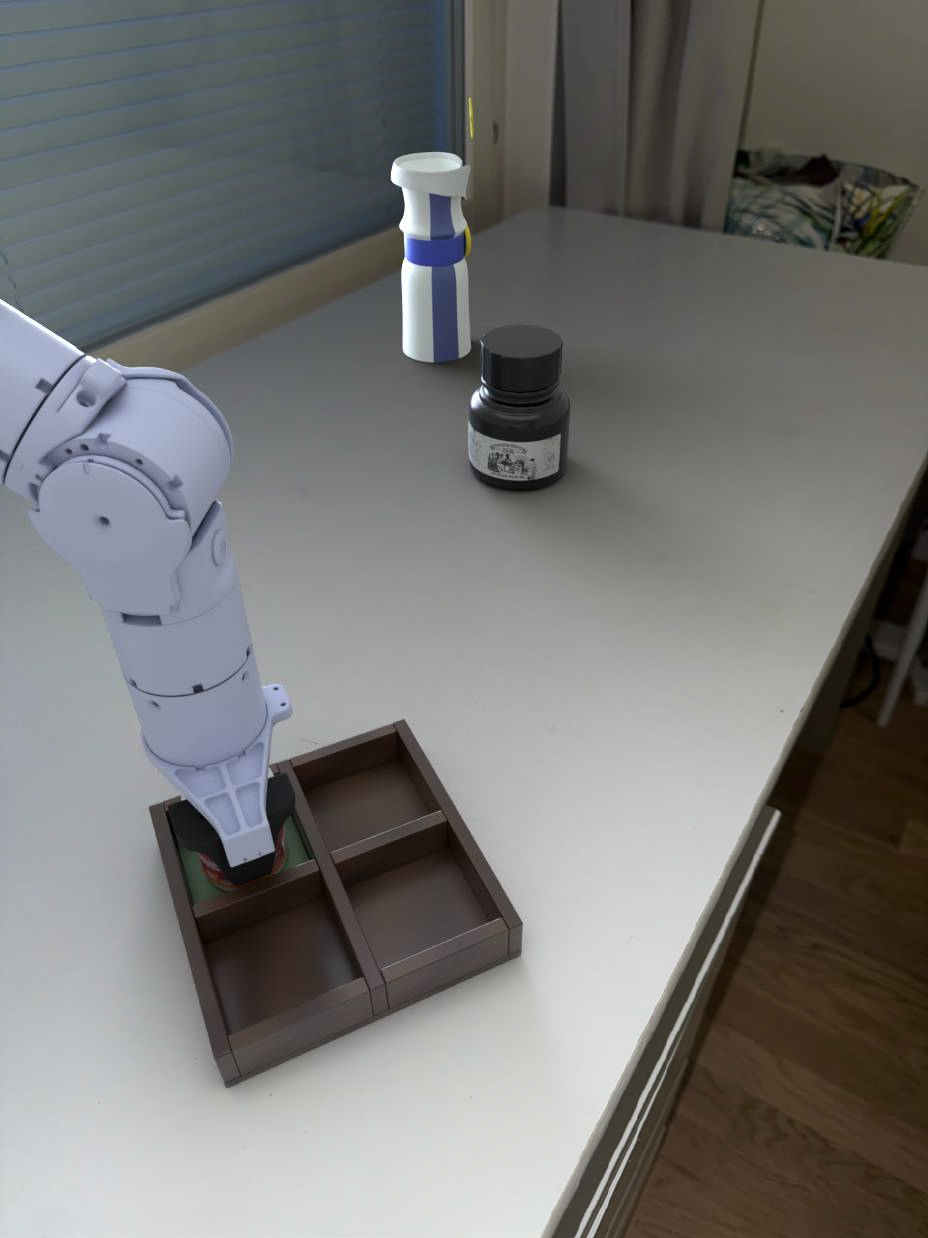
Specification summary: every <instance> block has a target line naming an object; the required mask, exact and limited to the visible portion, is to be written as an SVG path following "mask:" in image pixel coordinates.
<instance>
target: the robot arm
mask: <svg viewBox="0 0 928 1238" xmlns="http://www.w3.org/2000/svg"><path fill="white" fill-rule="evenodd" d="M234 457H235V445H234V438H233V435H232V432H231V429H230V425H229V424H228V422H227V420H226V419H225V417H224V415H223V413H222V412H221V411H220V409H219V408H218V407H217V405H216V404H215V403H214V402H213V401H212V400H211V399H210V398H209V397H208V396H207V395H206V394H204V393H203V392H202V391H201V390H199V389H198V388H196V387H195V386H194V385H193V383H192V382H191V381H190V380H189V379H188V378H187V377H186V376H184V375H182V374H180V373H178V372H175V371H172V370H168V369H165V368H160V367H154V366H153V367H152V366H137V367H130V366H129V367H128V366H124V365H121V364H119V363H117V362H116V361H115V360H113V359H111V358H110V357H109V358H107V359H106V360H103V359H101V358H99V357H98V358H93V357H92V356H91V355H88V353H86V352H85V351H82V350H81V349H79V348H78V347H76V346H74V345H73V344H71V343H70V342H68V341H66V339H63V338H62V337H61V336H59V335H57V334H55V333H54V332H52V331H51V330H49V329H48V328H46V327H45V326H43V325H42V324H40V323H38V322H37V321H35V320H34V319H32V318H30V317H29V316H27V315H25V314H24V313H22V312H21V311H20V310H18V309H16V308H15V307H13V306H11V305H10V304H8V303H6V302H5V301H4V300H2V299H0V485H3V486H5V487H6V488H7V489H10V490H11V491H13V492H15V493H16V494H18V495H19V496H21V497H24V499H27V500H28V501H30V502H32V503H34V506H33V509H30V510H28V512H27V516H28V519H29V520H30V522H31V524H32V526H33V528H34V529H35V532H36V533H37V534H38V535H39V537H40V538H41V540H42V541H43V542H44V543H45V544H46V545H47V546H48V547H49V548H50V550H52V551H53V552H54V553H55V554H56V555H57V556H58V557H60V558H61V559H62V560H64V562H66V563H67V564H69V565H70V566H71V567H72V568H73V569H75V571H76V573H78V575H79V577H80V578H81V580H82V582H83V585H84V588H85V590H86V593H87V596H88V598H89V600H91V601H95V602H97V604H98V607H99V608H100V612H101V616H102V618H103V621H104V624H105V626H106V629H107V633H108V635H109V638H110V641H111V644H112V647H113V649H114V652H115V655H116V658H117V661H118V664H119V667H120V670H121V673H122V676H123V679H124V682H125V685H126V687H127V691H128V693H129V694H128V695H129V696H130V700H131V702H132V705H133V709H134V711H135V713H136V716H137V719H138V722H139V726H140V741H141V745H142V747H143V750H144V753H145V755H146V757H147V759H148V761H149V762H150V763H151V765H153V767H154V768H155V769H156V770H158V772H159V773H160V774H161V775H162V776H163V777H164V778H165V779H166V780H167V781H168V782H169V783H170V784H171V785H172V786H173V787H174V788H175V789H176V790H177V791H178V792H179V793H180V795H181V794H182V795H183V796H184V797H185V798H186V799H185V800H182V801H180V802H177V803H174V804H171V805H168V810H169V814H170V817H171V821H172V824H173V828H174V831H175V834H176V836H177V838H178V840H179V841H180V843H181V844H182V845H183V846H184V847H185V848H186V849H187V850H189V851H194V852H198V853H201V854H203V855H205V856H207V857H209V858H210V859H211V860H212V861H213V862H214V863H215V864H216V866H217V867H218V868H219V869H220V871H221V872H222V873H223V875H224V876H225V877H226V878H227V879H228V880H229V881H230V882H231V883H232V884H233V885H234V886H236V887H237V886H240V885H243V884H245V883H248V882H251V881H253V880H256V879H258V878H261V877H264V876H266V875H269V874H271V872H272V869H273V865H274V860H275V853H276V845H277V839H278V835H279V832H280V830H281V828H282V826H283V824H284V823H285V822H286V820H287V819H288V818H289V817H290V816H291V815H292V813H293V812H294V811H295V803H296V797H295V792H294V789H293V787H292V784H291V782H290V780H289V777H288V775H287V773H286V772H284V773H281V774H279V775H276V776H273V777H270V778H268V772H269V765H270V763H271V762H270V761H271V751H272V750H271V749H272V740H273V739H272V738H273V730H274V727H275V726H276V725H277V724H278V723H280V722H284V721H286V720H288V719H290V718H291V717H292V715H293V707H292V706H293V705H292V702H291V700H290V697H289V696H288V693H287V690H286V689H285V687H284V686H283V685H282V684H280V683H272V684H269V685H265V686H263V685H262V682H261V681H262V680H261V677H260V672H259V668H258V664H257V663H258V662H257V658H256V654H255V653H256V652H255V648H254V644H253V638H252V633H251V628H250V624H249V620H248V615H247V610H246V606H245V605H246V604H245V601H244V596H243V592H242V587H241V583H240V577H239V572H238V569H237V564H236V559H235V554H234V552H233V548H232V543H231V539H230V534H229V530H228V524H227V519H226V516H225V511H224V506H223V504H222V502H221V501H219V500H216V498H217V497H218V495H219V493H220V491H221V490H222V489H223V486H224V485H225V483H226V481H227V480H228V477H229V473H230V470H231V468H232V466H233V461H234Z"/></svg>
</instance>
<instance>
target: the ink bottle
mask: <svg viewBox="0 0 928 1238" xmlns="http://www.w3.org/2000/svg"><path fill="white" fill-rule="evenodd" d="M563 345H564V340H563V339H562V337H561V335H560V333H557V332H556V331H554V330H552V329H551V328H547V327H543V326H541V325H540V326H539V325H534V324H524V323H520V324H506V325H503V326H498V327H494V328H492V329H491V330H489V331H487V332H484V333H483V336H482V338H481V339H480V375H481V376H480V381H481V384H482V385H479V387H478V388H476V390H475V391H474V392H473V393H472V394H471V397H470V399H469V403H468V419H467V430H468V431H467V441H468V459H469V460H468V461H469V467H470V470H471V471H472V473H473V475H475V477H477V478H478V479H479V480H481V481H482V482H484V483H486V484H490V485H492V486H495V487H498V488H499V487H500V488H504V489H512V490H531V489H532V490H533V489H537V488H542V487H545V486H549V485H550V484H552V483H553V482H554V481H555V482H556V480H558V479H559V478H560V477H561V476H562V475H563V473H564V472H565V471H566V468H567V463H568V454H569V439H570V425H571V424H570V423H571V407H572V406H571V400H570V397H569V395H568V394H567V392H566V391H565V390H564V389H563V388H562V387H560V386H559V385H560V381H561V376H562V364H563Z"/></svg>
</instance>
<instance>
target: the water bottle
mask: <svg viewBox="0 0 928 1238" xmlns="http://www.w3.org/2000/svg"><path fill="white" fill-rule="evenodd" d="M468 102H469V121H470V137H471V139H472V138H474V133H475V128H474V111H473V105H472V97H469V99H468ZM463 163H464V162H463V160H462V159H461V157H460V156H458V155H456V154H454V153H451V152H443V151H429V152H428V151H426V152H416V153H415V152H414V153H410V154H404V155H402V156H399V157H397V158H396V159H395V160H394V161H393V162H392V166H391V167H392V168H391V172H390V180H391V182H392V183H393V184H394V185H395V186H398V187H400V188H401V189H402V193H403V200H404V213H403V217H402V219H401V221H400V223H399V229H400V230H401V231H402V233H403V239H404V240H403V241H404V242H403V243H404V259H403V262H402V267H401V294H402V296H401V297H402V298H401V299H402V352H403V353H404V355H406V357H407V358H408V357H409V358H411V359H412V360H415V361H417V362H418V361H419V362H422V363H433V364H434V363H437V364H438V363H446V362H447V363H448V362H452V361H457V360H459V359H461V358H464V357H465V356H467V355H468V354H469V353H470V352H471V349H472V342H471V339H472V338H471V325H470V323H471V321H470V305H469V304H470V302H469V301H470V300H469V297H470V296H469V269H468V268H469V267H468V263H467V260H466V258H468V257H470V256H471V255H470V254H471V252H472V236H471V231H470V228H469V225H468V222H467V220H466V218H465V217H464V213H463V210H462V198H464V199H465V201H468V198H467V187H468V183H469V177H470V173H471V169H472V167H471V166H470V164H466V165H464V164H463ZM463 165H464V166H463Z"/></svg>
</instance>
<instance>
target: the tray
mask: <svg viewBox="0 0 928 1238" xmlns="http://www.w3.org/2000/svg"><path fill="white" fill-rule="evenodd" d="M269 768H270V769H271V771H272V773H273V775H274V776H276V775H279V774H281V773H284V772H286V773H287V775H288V777H289V780H290V782H291V784H292V787H293V789H294V792H295V797H296V803H295V811H294V812H293V813H292V815H291V816H290V817H289V818H288V819H287V820H286V822H285V823H284V828H285V833H286V838H287V842H288V856H287V860H286V863H285V865H284V867H283V868H282V870H281V871H280V872H279V873H277V874H274V875H271V876H269V877H266V878H264V879H261V880H258V881H256V882H253V883H251V884H248V885H245V886H243V887H240V888H238V889H235V890H232V891H230V892H228V891H225V890H222V889H220V888H218V887H216V886H214V885H213V884H212V883H211V882H210V881H209V880H208V879H207V877H206V876H205V874H204V871H203V869H202V866H201V863H200V860H199V857H198V854H197V852H194V851H189V850H187V849H186V848H185V847H184V846H183V845H182V844H181V843H180V841H179V840H178V838H177V836H176V834H175V831H174V828H173V824H172V821H171V817H170V814H169V810H168V805H171V804H174V803H177V802H180V801H181V794H180V795H177V796H175V797H171V798H169V799H165V800H163V801H161V802H157V803H155V804H152V805H149V806H148V812H149V814H150V819H151V823H152V827H153V831H154V834H155V838H156V843H157V846H158V849H159V853H160V854H159V855H160V857H161V860H162V861H161V862H162V866H163V868H164V869H163V870H164V873H165V876H166V881H167V883H168V884H167V885H168V888H169V893H170V896H171V900H172V904H173V907H174V911H175V915H176V920H177V922H178V923H177V924H178V927H179V931H180V934H181V938H182V942H183V946H184V949H185V953H186V957H187V961H188V965H189V968H190V972H191V976H192V980H193V984H194V988H195V992H196V996H197V999H198V1003H199V1007H200V1010H201V1011H200V1012H201V1014H202V1018H203V1021H204V1026H205V1031H206V1034H207V1037H208V1041H209V1045H210V1048H211V1053H212V1057H213V1059H214V1062H215V1065H216V1067H217V1069H218V1072H219V1074H220V1077H221V1080H222V1081H223V1084H224V1087H225V1088H227V1089H228V1088H231V1087H232V1086H234V1085H237V1084H238V1083H241V1082H243V1081H245V1080H248V1079H250V1078H253V1077H255V1076H256V1075H259V1074H261V1073H264V1072H265V1071H267V1070H270V1069H272V1068H274V1067H277V1066H279V1065H280V1064H284V1063H285V1062H287V1061H289V1060H290V1061H291V1060H292V1059H294V1058H296V1057H299V1056H300V1055H302V1054H305V1053H307V1052H310V1051H312V1050H314V1049H316V1048H318V1047H320V1046H322V1045H325V1044H327V1043H329V1042H332V1041H334V1040H336V1039H338V1038H340V1037H343V1036H345V1035H347V1034H350V1033H351V1032H354V1031H356V1030H358V1029H360V1028H362V1027H364V1026H367V1025H369V1024H371V1023H373V1022H376V1021H378V1020H380V1019H382V1018H385V1017H387V1016H389V1015H391V1014H393V1013H396V1012H398V1011H400V1010H403V1009H404V1008H407V1007H409V1006H411V1005H414V1004H416V1003H418V1002H420V1001H422V1000H425V999H426V998H429V997H431V996H434V995H436V994H437V993H439V992H440V993H441V992H442V991H444V990H446V989H448V988H451V987H453V986H456V985H457V984H459V983H463V982H464V981H466V980H468V979H470V978H473V977H475V976H477V975H480V974H482V973H484V972H487V971H488V970H490V969H491V970H492V969H493V968H495V967H497V966H499V965H502V964H504V963H506V962H509V961H510V960H513V959H515V958H517V957H519V956H522V953H523V950H522V947H523V946H522V945H523V930H524V922H523V920H522V918H521V917H520V914H519V913H518V912H517V910H516V908H515V907H514V904H513V903H512V901H511V900H510V897H509V896H508V894H507V893H506V891H505V889H504V888H503V886H502V884H501V882H500V880H499V879H498V877H497V876H496V874H495V872H494V869H492V867H491V865H490V864H489V862H488V860H487V859H486V856H485V854H484V852H482V850H481V848H480V846H479V844H478V843H477V841H476V839H475V838H474V836H473V834H472V833H471V831H470V829H469V827H468V826H467V824H466V822H465V821H464V819H463V817H462V815H461V813H460V812H459V809H457V807H456V805H455V803H454V801H453V800H452V798H451V797H450V794H449V793H448V791H447V789H446V787H445V786H444V784H443V783H442V781H441V779H440V778H439V776H438V774H437V772H436V771H435V768H434V767H433V766H432V764H431V762H430V760H429V758H428V757H427V755H426V753H425V752H424V750H423V749H422V747H421V745H420V743H419V742H418V740H417V738H416V736H415V734H414V733H413V731H412V728H411V727H410V726H409V724H408V723H407V721H406V719H405V718H402V719H399V720H396V721H393V722H390V723H387V724H384V725H382V726H379V727H375V728H373V729H370V730H367V731H364V732H361V733H359V734H356V735H353V736H350V737H346V738H343V739H340V740H338V741H335V742H332V743H330V744H327V745H323V746H321V747H318V748H315V749H312V750H308V751H306V752H302V753H300V754H298V755H294V756H292V757H289V758H286V759H285V758H284V759H282V760H279V761H276V762H273V763H269Z"/></svg>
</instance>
